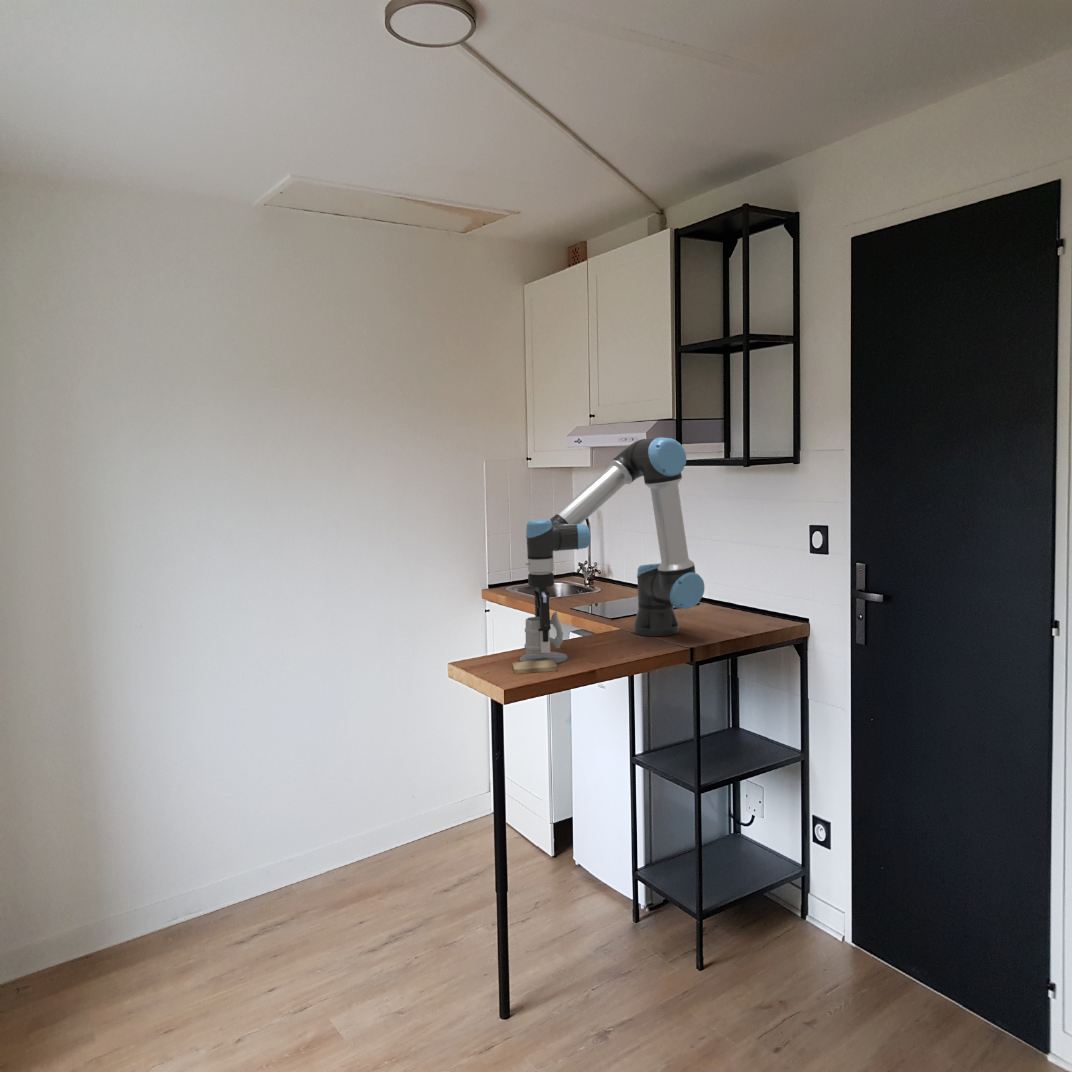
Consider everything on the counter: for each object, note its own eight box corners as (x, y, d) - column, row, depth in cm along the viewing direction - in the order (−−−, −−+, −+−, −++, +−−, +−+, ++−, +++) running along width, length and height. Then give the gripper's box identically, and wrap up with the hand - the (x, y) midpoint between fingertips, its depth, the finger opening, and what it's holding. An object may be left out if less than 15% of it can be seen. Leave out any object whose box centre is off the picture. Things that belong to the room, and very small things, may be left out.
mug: (528, 648, 242) (527, 608, 241) (566, 649, 238) (565, 609, 237) (521, 654, 234) (519, 613, 233) (560, 655, 231) (558, 614, 230)
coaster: (563, 652, 245) (563, 650, 245) (571, 663, 231) (571, 661, 231) (517, 655, 243) (517, 653, 243) (522, 666, 229) (522, 664, 229)
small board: (553, 663, 232) (553, 659, 231) (557, 670, 224) (557, 666, 224) (512, 666, 230) (511, 662, 230) (514, 673, 222) (514, 669, 222)
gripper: (524, 568, 245) (526, 642, 247) (532, 578, 224) (535, 658, 226) (548, 567, 245) (551, 640, 248) (558, 576, 225) (561, 656, 227)
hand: (543, 649), depth 237 cm, fingers closed on mug, 8 cm apart
